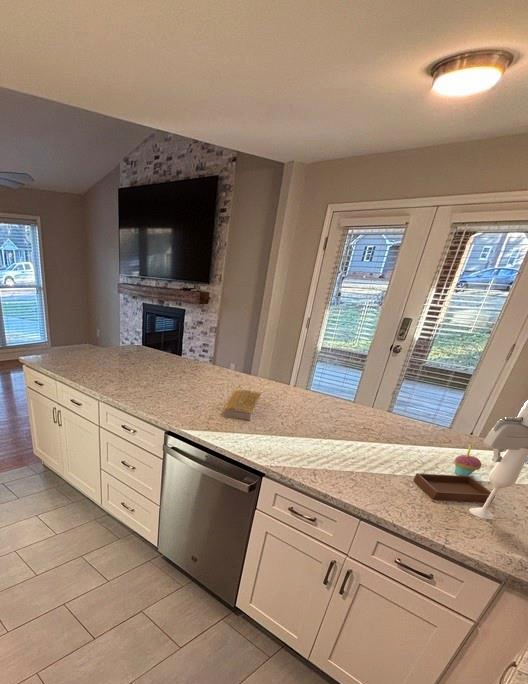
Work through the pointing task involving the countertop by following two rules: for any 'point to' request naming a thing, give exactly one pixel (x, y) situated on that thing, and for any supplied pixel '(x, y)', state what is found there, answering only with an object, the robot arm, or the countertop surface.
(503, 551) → the countertop surface
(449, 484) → the tray
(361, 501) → the countertop surface
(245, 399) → the rafter model
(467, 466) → the cupcake
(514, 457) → the champagne flute
